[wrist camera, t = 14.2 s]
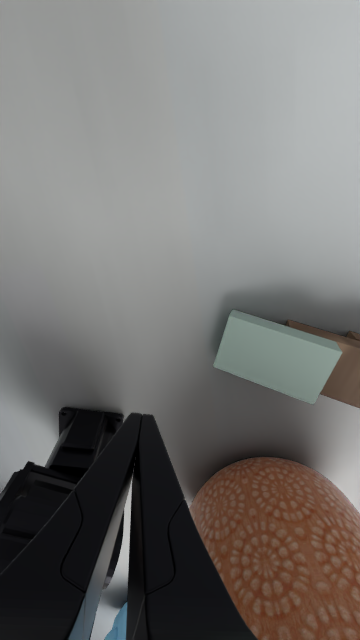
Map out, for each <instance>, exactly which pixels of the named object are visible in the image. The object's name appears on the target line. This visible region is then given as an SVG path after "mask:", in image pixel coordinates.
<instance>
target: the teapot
mask: <svg viewBox="0 0 360 640" xmlns="http://www.w3.org/2000/svg"><path fill="white" fill-rule="evenodd" d="M126 622H127V602H126V603H125V604H124V606H123V607H122V608H121V610H120V611H119V613H118V614H117V616H116V618H115V620H114V624H113V628H112V630H111V631H110V632H109V633H108V634H107V636H106V637H105V639H104V640H126Z"/></svg>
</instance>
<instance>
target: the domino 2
mask: <svg viewBox="0 0 360 640" xmlns="http://www.w3.org/2000/svg"><path fill="white" fill-rule="evenodd" d="M286 326H287V327H291V328H294V329H297V330H300V331H303V332H306V333H310V334H313V335H316V336H319V337H322V338H325V339H329V340H332V341H335V342H336V343H337V344H338V346H339V348H340V349H341V351H342V354H341V356H340V358H339V360H338V361H337V363H336V365H335V367H334V369H333V370H332V372H331V374H330V376H329V378H328V380H327V381H326V383H325V385H324V387H323V389H322V390H321V392H320V394H321V395H324V396H327V397H330V398H333V399H335V400H338V401H341V402H344V403H346V404H349V405H352V406H355V407H358V408H360V341H357V340H354V339H351V338H347V337H344V336H341V335H337V334H334V333H331V332H327V331H324V330H321V329H317V328H314V327H311V326H308V325H304V324H301V323H298V322H294V321H291V320H288V321H287V323H286Z"/></svg>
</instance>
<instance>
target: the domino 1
mask: <svg viewBox="0 0 360 640" xmlns="http://www.w3.org/2000/svg"><path fill="white" fill-rule="evenodd" d="M341 354H342V351H341V349H340V348H339V346H338V344H337V343H336V342H335V341H332V340H329V339H325V338H322V337H319V336H316V335H313V334H310V333H306V332H303V331H300V330H297V329H294V328H291V327H287V326H284V325H281V324H278V323H275V322H272V321H269V320H265V319H262V318H259V317H256V316H253V315H250V314H246V313H243V312H240V311H237V310H234V309H233V310H232V312H231V313H230V315H229V318H228V321H227V324H226V327H225V331H224V334H223V337H222V340H221V343H220V346H219V350H218V353H217V356H216V359H215V362H214V365H213V367H215V368H218V369H220V370H223V371H226V372H228V373H231V374H233V375H236V376H239V377H241V378H244V379H247V380H249V381H252V382H254V383H257V384H260V385H262V386H265V387H267V388H270V389H273V390H275V391H278V392H280V393H283V394H286V395H288V396H291V397H294V398H296V399H299V400H301V401H304V402H307V403H309V404H312V405H314V403H315V401H316V400H317V398H318V396H319V394H320V392H321V390H322V389H323V387H324V385H325V383H326V381H327V380H328V378H329V376H330V374H331V372H332V370H333V369H334V367H335V365H336V363H337V361H338V360H339V358H340V356H341Z"/></svg>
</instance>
